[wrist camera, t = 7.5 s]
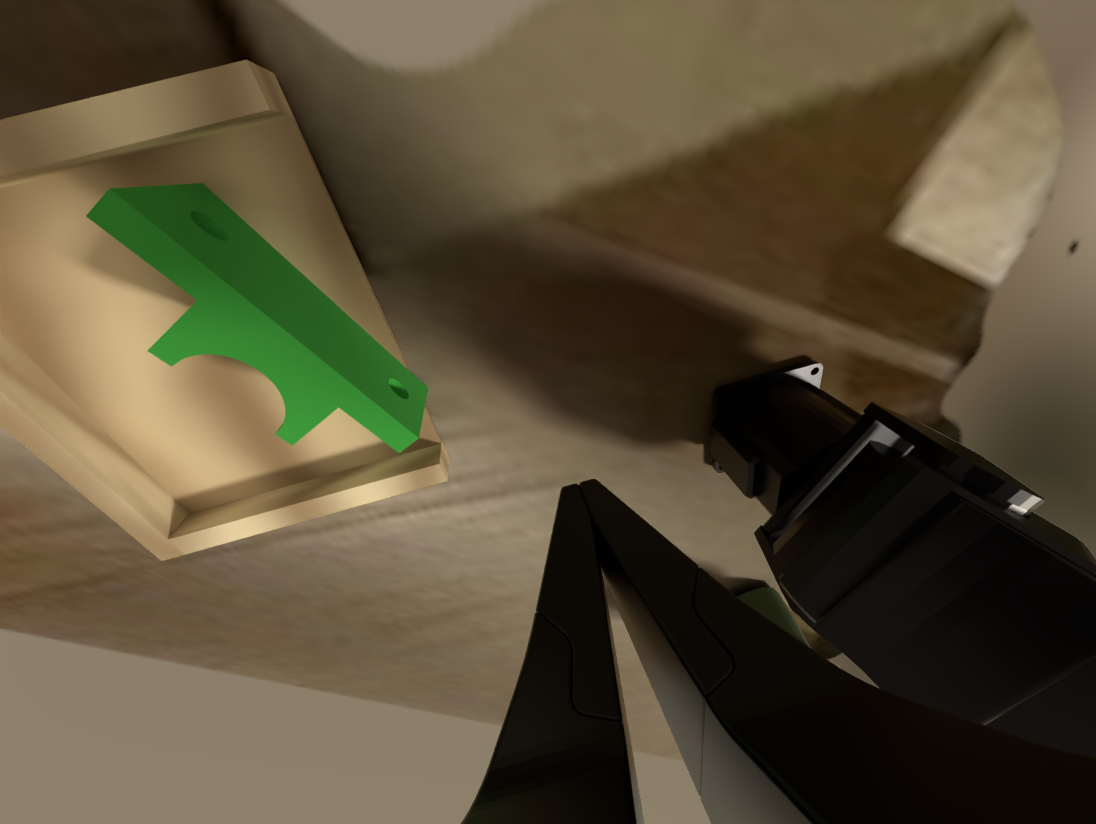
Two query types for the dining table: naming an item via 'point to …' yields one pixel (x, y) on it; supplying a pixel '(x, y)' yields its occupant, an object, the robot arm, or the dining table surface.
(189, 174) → the corral
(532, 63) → the dining table surface
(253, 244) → the pipe clamp
